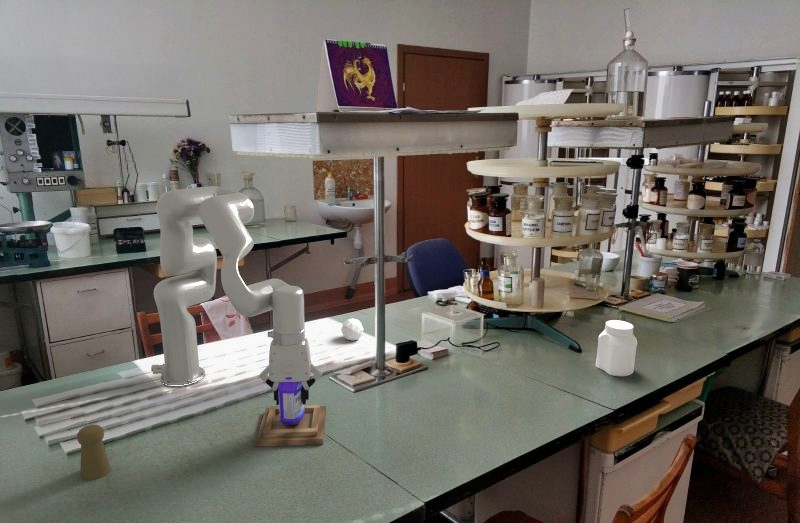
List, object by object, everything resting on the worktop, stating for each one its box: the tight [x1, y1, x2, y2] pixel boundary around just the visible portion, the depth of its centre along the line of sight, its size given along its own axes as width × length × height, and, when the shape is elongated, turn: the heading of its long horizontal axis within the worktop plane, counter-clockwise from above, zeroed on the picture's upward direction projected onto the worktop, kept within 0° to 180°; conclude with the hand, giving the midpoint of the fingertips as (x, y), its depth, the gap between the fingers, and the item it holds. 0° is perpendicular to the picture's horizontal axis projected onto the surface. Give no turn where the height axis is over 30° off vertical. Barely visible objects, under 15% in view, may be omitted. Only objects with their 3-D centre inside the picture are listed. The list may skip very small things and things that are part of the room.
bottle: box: [278, 377, 305, 425], centre depth 143 cm, size 7×6×17 cm
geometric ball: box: [340, 317, 365, 342], centre depth 201 cm, size 8×8×8 cm
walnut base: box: [255, 404, 327, 447], centre depth 145 cm, size 16×16×3 cm
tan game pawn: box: [76, 423, 112, 481], centre depth 125 cm, size 6×6×11 cm
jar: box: [595, 319, 638, 377], centre depth 180 cm, size 12×10×15 cm
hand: (291, 401), depth 144 cm, fingers closed on bottle, 5 cm apart
